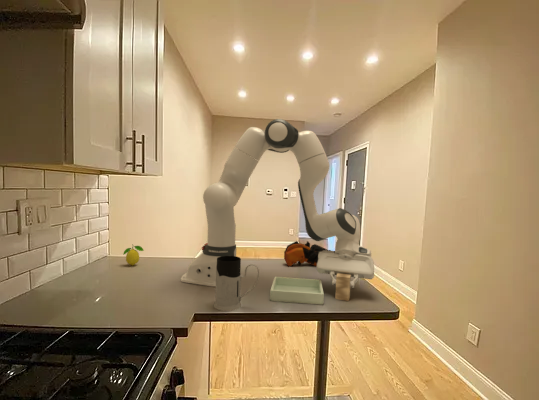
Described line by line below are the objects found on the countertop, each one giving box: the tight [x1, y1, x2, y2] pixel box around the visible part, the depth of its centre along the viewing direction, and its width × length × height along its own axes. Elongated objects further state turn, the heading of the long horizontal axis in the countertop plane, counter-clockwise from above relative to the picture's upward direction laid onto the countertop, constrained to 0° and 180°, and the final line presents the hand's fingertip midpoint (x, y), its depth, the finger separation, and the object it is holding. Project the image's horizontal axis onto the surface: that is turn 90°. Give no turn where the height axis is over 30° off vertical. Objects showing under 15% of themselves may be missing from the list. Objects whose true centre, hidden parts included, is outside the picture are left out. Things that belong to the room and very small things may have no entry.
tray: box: [269, 276, 325, 306], centre depth 107 cm, size 18×16×4 cm
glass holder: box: [213, 255, 260, 312], centre depth 95 cm, size 9×14×15 cm, turn 82°
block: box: [334, 273, 352, 302], centre depth 105 cm, size 4×4×8 cm
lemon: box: [122, 244, 145, 267], centre depth 137 cm, size 7×6×10 cm
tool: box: [283, 240, 332, 267], centre depth 148 cm, size 8×23×15 cm, turn 99°
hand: (343, 285), depth 104 cm, fingers closed on block, 4 cm apart
